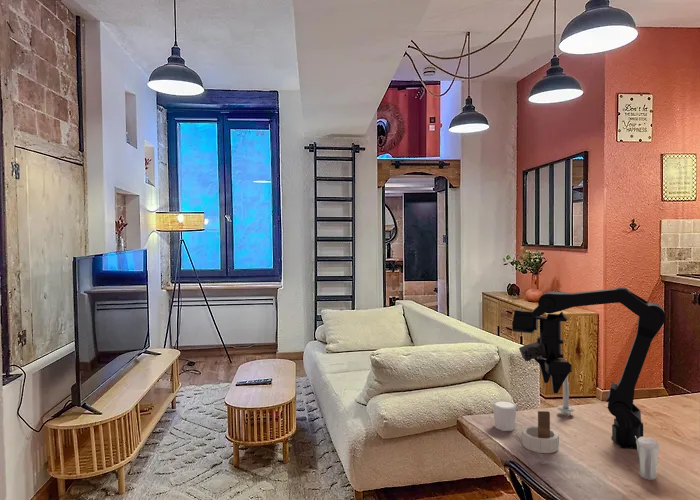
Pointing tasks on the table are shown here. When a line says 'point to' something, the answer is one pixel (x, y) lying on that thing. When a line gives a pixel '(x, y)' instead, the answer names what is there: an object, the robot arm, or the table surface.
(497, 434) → the table surface
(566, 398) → the screw
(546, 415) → the brown wooden handle
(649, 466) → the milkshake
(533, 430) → the white bowl
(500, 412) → the white tapered cylinder
